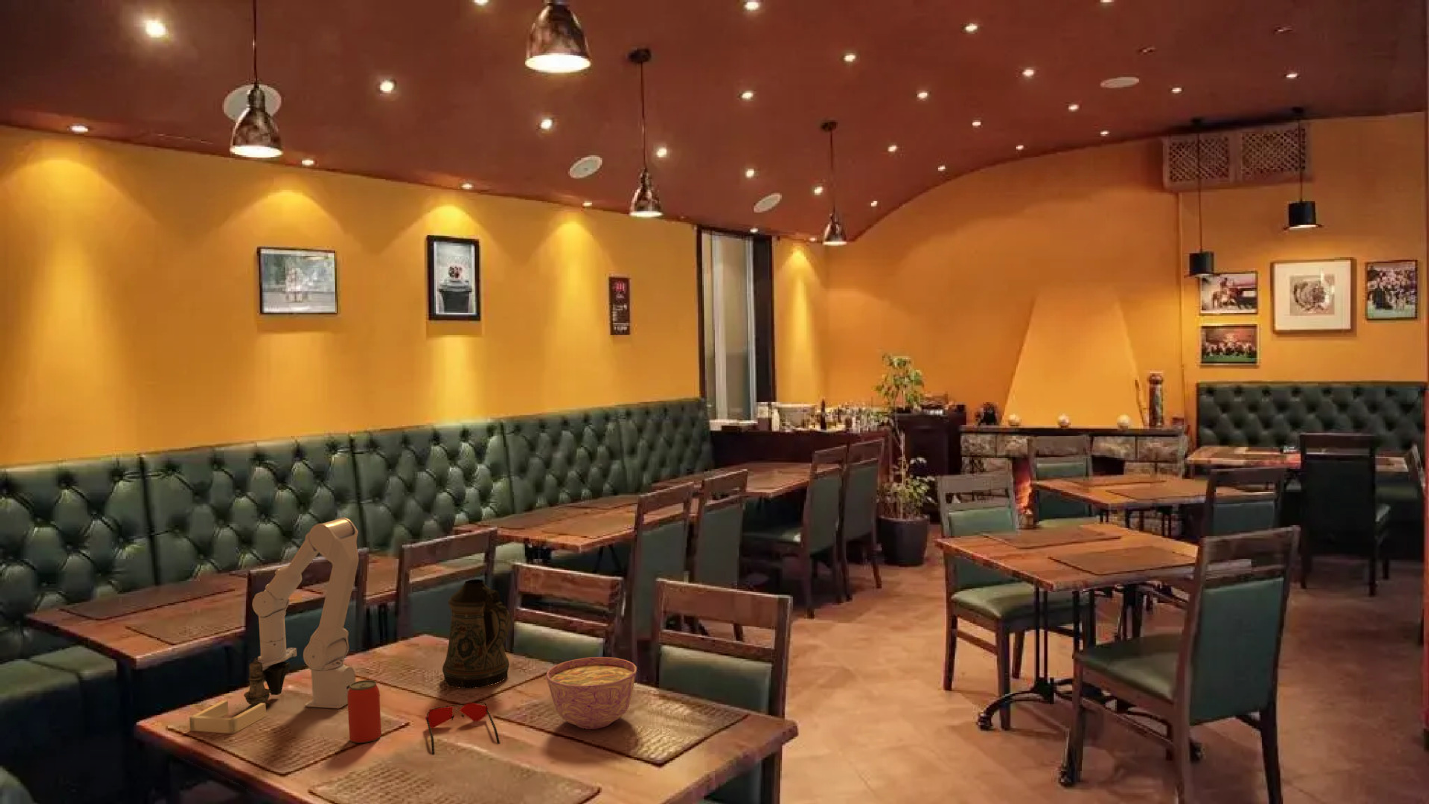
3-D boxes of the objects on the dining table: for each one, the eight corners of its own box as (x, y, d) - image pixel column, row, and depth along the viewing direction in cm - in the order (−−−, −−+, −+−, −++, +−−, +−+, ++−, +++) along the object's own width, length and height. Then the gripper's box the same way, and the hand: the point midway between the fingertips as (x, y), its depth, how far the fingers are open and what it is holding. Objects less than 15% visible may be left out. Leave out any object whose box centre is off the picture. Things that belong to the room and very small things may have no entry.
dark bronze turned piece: (261, 712, 239) (258, 662, 238) (239, 711, 240) (236, 661, 239) (276, 703, 244) (274, 654, 244) (255, 702, 246) (252, 653, 245)
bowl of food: (657, 719, 227) (655, 668, 226) (588, 747, 212) (585, 692, 212) (598, 699, 240) (596, 651, 240) (529, 724, 226) (527, 673, 225)
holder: (266, 715, 236) (265, 703, 236) (233, 733, 226) (233, 720, 226) (224, 713, 239) (223, 700, 239) (190, 730, 229) (189, 717, 228)
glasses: (488, 719, 231) (487, 697, 231) (500, 745, 216) (499, 722, 215) (425, 729, 226) (424, 707, 226) (432, 756, 211) (431, 733, 211)
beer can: (352, 746, 216) (349, 691, 216) (347, 736, 222) (344, 682, 221) (384, 740, 219) (381, 685, 219) (378, 730, 225) (376, 677, 225)
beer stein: (458, 667, 268) (453, 573, 267) (529, 668, 266) (525, 573, 264) (432, 688, 252) (427, 588, 251) (507, 690, 249) (503, 589, 248)
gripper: (278, 630, 256) (281, 683, 256) (238, 647, 242) (241, 703, 242) (302, 631, 254) (305, 684, 255) (263, 648, 240) (267, 705, 241)
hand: (276, 694), depth 249 cm, fingers closed
